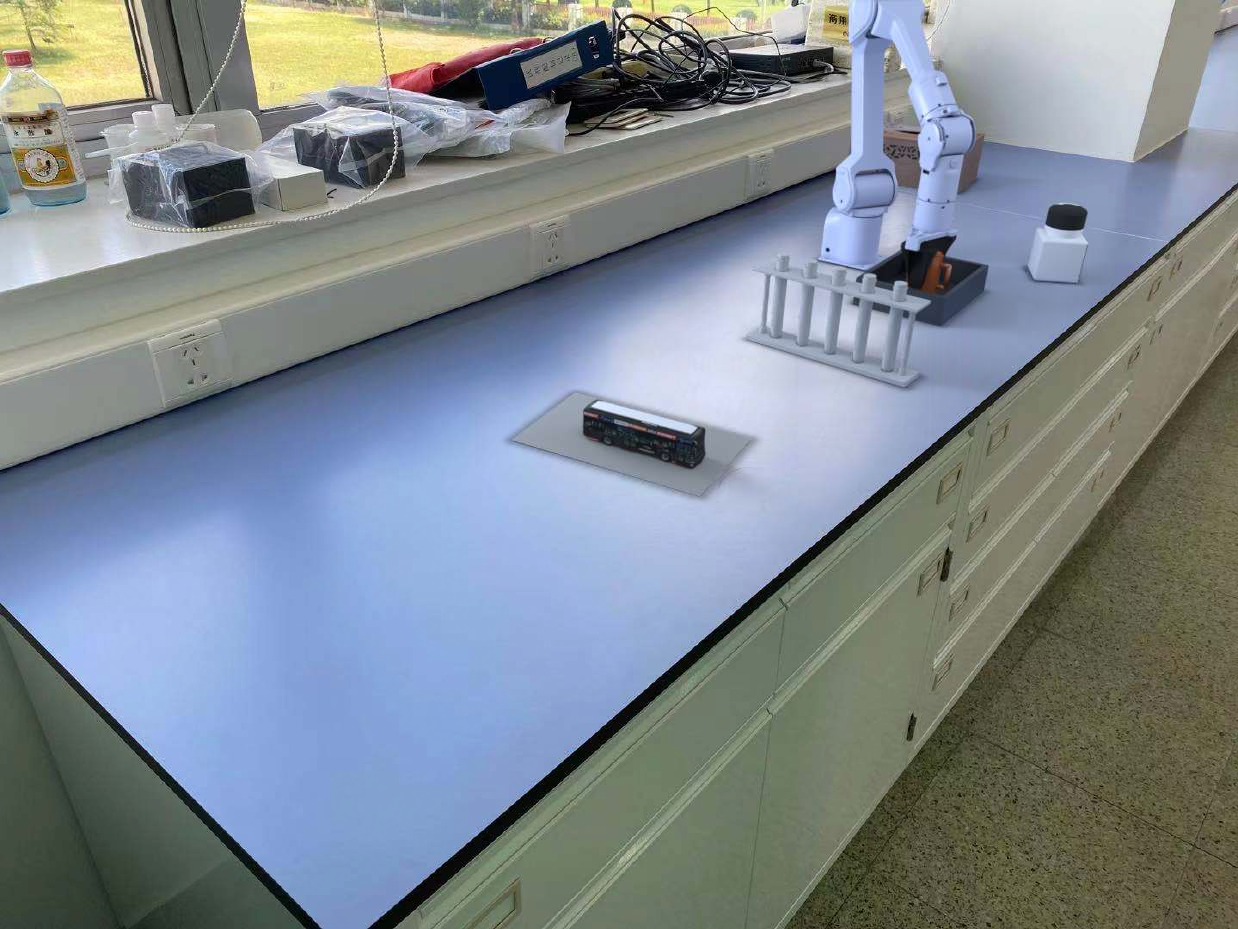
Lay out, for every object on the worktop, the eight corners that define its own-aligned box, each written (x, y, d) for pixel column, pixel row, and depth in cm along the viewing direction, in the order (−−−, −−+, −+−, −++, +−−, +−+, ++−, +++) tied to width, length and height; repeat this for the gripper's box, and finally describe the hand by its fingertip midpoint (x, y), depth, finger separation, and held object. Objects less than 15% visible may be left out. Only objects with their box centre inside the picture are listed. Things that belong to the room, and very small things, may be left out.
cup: (898, 295, 155) (905, 253, 152) (911, 286, 159) (918, 245, 155) (939, 305, 152) (947, 262, 148) (950, 296, 155) (958, 254, 152)
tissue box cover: (976, 178, 219) (984, 133, 214) (959, 193, 209) (968, 146, 203) (867, 163, 231) (873, 120, 226) (846, 177, 220) (851, 132, 215)
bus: (699, 496, 105) (701, 463, 103) (511, 439, 116) (509, 409, 114) (750, 439, 116) (753, 408, 114) (575, 392, 126) (574, 363, 124)
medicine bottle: (1078, 284, 161) (1096, 213, 155) (1033, 280, 163) (1050, 210, 156) (1070, 269, 167) (1087, 201, 161) (1027, 266, 169) (1042, 198, 162)
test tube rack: (918, 376, 131) (935, 284, 124) (904, 388, 128) (920, 294, 121) (762, 330, 144) (769, 244, 138) (746, 339, 142) (752, 252, 135)
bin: (852, 304, 153) (856, 277, 151) (900, 272, 166) (904, 247, 164) (940, 326, 146) (945, 298, 144) (983, 291, 158) (989, 264, 156)
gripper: (943, 213, 141) (928, 301, 148) (978, 192, 150) (962, 275, 157) (898, 205, 144) (885, 290, 151) (935, 184, 154) (921, 266, 161)
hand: (921, 282), depth 155 cm, fingers closed on cup, 5 cm apart
